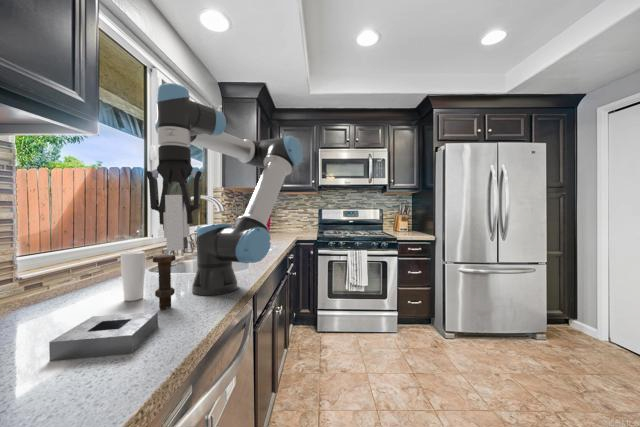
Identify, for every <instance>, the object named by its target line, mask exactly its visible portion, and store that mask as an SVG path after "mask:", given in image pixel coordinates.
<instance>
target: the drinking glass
mask: <svg viewBox="0 0 640 427" xmlns="http://www.w3.org/2000/svg"><path fill="white" fill-rule="evenodd" d="M146 263H147V262H146V252H145V251H144V250H137V251H136V250H135V251H133V250H132V251H125V252H120V273H121V279H122V281H121V282H122V289H123V290H122V291H123V300H124V301H125V302H135V301H139V300H142V299H143V298H144V297H145V296H144V290H145V274H146Z"/></svg>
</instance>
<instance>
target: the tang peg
mask: <svg viewBox="0 0 640 427" xmlns="http://www.w3.org/2000/svg"><path fill="white" fill-rule="evenodd" d="M165 209H166V238H165V239H166V251H184V250H187V249H188V247H189V243H188V237H184V219H183V212H187V211H186V207H185V203H184V199H183V194H170V195H165Z"/></svg>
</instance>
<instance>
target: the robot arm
mask: <svg viewBox="0 0 640 427" xmlns="http://www.w3.org/2000/svg"><path fill="white" fill-rule="evenodd" d="M156 90H157V91H156V101H155V103H156V112H157V113H156V114H157V116H156V117H157V118H156V120H155V132H156V134H157V143H158V145H159V147H157V148H158V150H157V152H158V164H157V167H156V168H155V169H153V170H147V171H145V175H146V177H147V179H148V186H149V187H148V188H149V199H150V200H149V201H150V202H149V203H150V209H151V210H153V211H157V212H158V214H159V218H158V219H159V225H163V238H164V239H166V209H165V195H171V190H172V186H173V184H175V183H177V184H179V187H180V190H181V195H183V199H184V203H185V207H186V211H187V212H183V219H184V237H187V238H189V237H190V230H191V229H190V225H192V224H193V223H194V211H196V210H198V209H199V210H200V209H201V199H202V198H201V197H202V196H201V192H202V190H201V186H202V185H201V184H202V179H203V176H204V173H203V172H202V171H200V170H196V169H194V168H193V166H192V157H191V155H192V154H191V149H190V147H191V145H194V146H198V147H200V148H201V147H202V148H203V149H207V150H210V151H213V152H217V153H220V154H222V155H226V156H229V157H232V158H235V159H237V160H238V161H239V162H240V163H243V164H246V165H250V166H253V167H256V168H261V169H263V170H262V173H261V175H260V177H259V180H258V182H257V184H256V186H255V187H254V188H255V189H254V191H253V193H252V194H251V197H250V200H249V202H248V204H247V206H246V208H245V211H244V212H243V215H241V216H237V218H236V219H235V222H234V224H233V226H232V224H231V223H229V222H225V223H224V222H223V223H216V224H215V223H214V224H213V223H212V224H207V225H202V226H199V227H198V228H197V230H196V237H195V239H196V262H197V264H196V265H197V266H196V267H197V269H196V273H195V276H194V278H193V279H194V280H193V282H192V286H191V287H192V288H191V290H192V293H193V294H194V295H199V296H213V295H222V294H227V293H231V292H233V291H235V290H238V288H239V287H238V279H237V276H236V275H235V274H236V273H235V271H234V268H233V263H234V262H235V263H242V264H256V263H259V262H260V261H262V260H264V258H266V256H267V255H268V253H269V252H270V248H271V244H272V243H271V242H270V241H271V235H270V232H269V227H268V226H267V224H268V221H269V219H270V216H271V213H272V211H273V209H274V207H275V204H276V201H277V199H278V196H279V194H280V191H281V189H282V186H283V183H284V181H285V179H286V177H287V176H290V175H291V173H292V171H293V169H294V167H297V166H300V165H301V164H302V162H303V159H304V158H303V157H304V155H303V154H304V153H303V149H302V145H301V143H300V142H299V140H298V138H296V137H295V136H292V135H289V136H286V135H285V136H282V137H277V138H269V139H262V140H251V139H248V138H245V139H242V138H239V137H237V136H234V135H232V134H230V133H227V132H225V130H226V128H227V127H226V126H227V119H226V116H225V114H224V113H223V112H222V111H220V110H218V109H215V108H214V107H210V106H207V105H205V104H202V103H199V102H196V101H194V100H193V99H190V92H189V89H188V88H186V87H185V86H183V85H182V84H177V83H173V82H172V83H170V82H168V83H166V82H165V83H163V84H160V85H158V87H157V89H156ZM191 175H192V178H193V203H192V197H191V193H190V190H189V184H188V181H187V180H188V179H189V177H190V176H191ZM159 176H161V178H162V179H163V181H162V189H161V190H162V191H161V196H160V199H159V183H158V178H159ZM237 287H238V288H237Z"/></svg>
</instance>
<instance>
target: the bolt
mask: <svg viewBox="0 0 640 427" xmlns="http://www.w3.org/2000/svg"><path fill="white" fill-rule="evenodd" d="M175 261H176V255H174V254H161V255H160V254H159V255H155V256H154V257H153V258H152V262H153V263H157V269H158V288H157V289H156V290H155V291H154V295H155V297H156V298H158V308H159V309H160V310H166V309H170V308H171V307H172V296H174V294H175V288H174V287H172V277H171V276H172V273H171V271H172V270H171V269H172V268H171V267H172V262H175Z"/></svg>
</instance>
